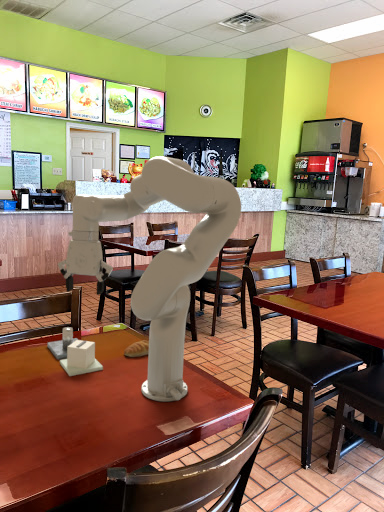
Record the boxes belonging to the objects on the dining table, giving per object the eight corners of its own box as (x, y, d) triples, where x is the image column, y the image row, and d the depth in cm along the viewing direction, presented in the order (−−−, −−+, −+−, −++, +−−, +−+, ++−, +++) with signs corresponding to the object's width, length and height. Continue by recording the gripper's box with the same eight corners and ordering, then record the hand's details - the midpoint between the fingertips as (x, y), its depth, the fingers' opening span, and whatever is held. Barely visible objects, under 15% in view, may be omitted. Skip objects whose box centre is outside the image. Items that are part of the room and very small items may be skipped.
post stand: (88, 354, 133) (88, 332, 132) (57, 359, 128) (57, 336, 127) (76, 342, 143) (77, 321, 142) (47, 346, 138) (47, 325, 137)
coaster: (102, 369, 123) (102, 366, 122) (69, 376, 117) (69, 372, 117) (91, 357, 131) (91, 354, 131) (59, 363, 125) (59, 360, 125)
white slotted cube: (85, 368, 120) (86, 348, 119) (67, 365, 121) (67, 345, 120) (94, 360, 126) (95, 341, 125) (76, 358, 127) (76, 338, 126)
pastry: (132, 360, 131) (132, 349, 130) (119, 354, 135) (119, 343, 135) (153, 353, 138) (154, 342, 137) (140, 347, 142) (141, 337, 142)
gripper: (52, 235, 119) (52, 292, 122) (108, 239, 117) (107, 297, 119) (64, 233, 127) (64, 287, 129) (117, 237, 124) (116, 292, 126)
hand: (84, 292), depth 124 cm, fingers open, 9 cm apart
